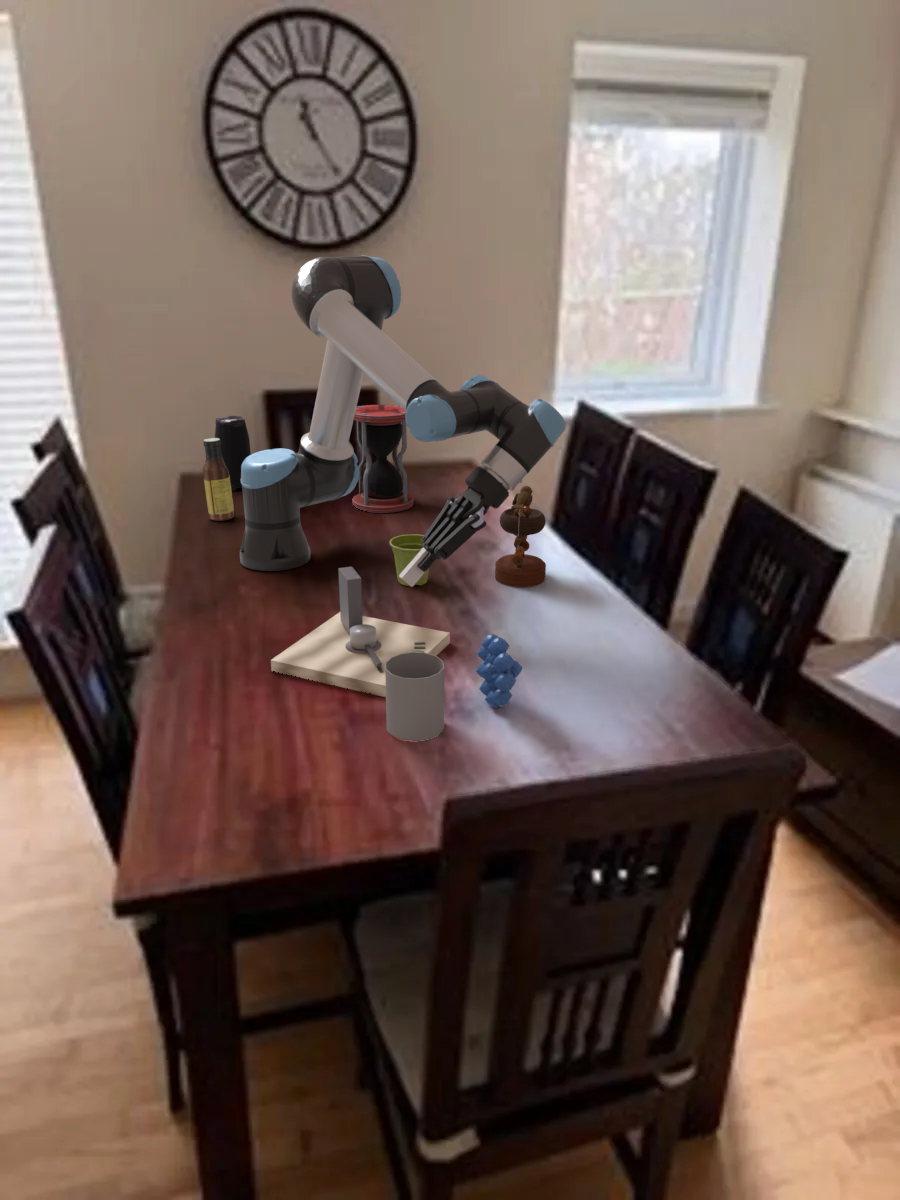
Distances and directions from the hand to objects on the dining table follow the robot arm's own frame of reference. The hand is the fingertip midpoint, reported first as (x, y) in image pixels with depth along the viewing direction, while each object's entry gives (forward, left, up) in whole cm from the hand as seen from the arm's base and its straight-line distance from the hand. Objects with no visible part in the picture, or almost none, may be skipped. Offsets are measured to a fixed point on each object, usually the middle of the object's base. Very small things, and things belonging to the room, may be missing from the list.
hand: (405, 581), depth 153 cm
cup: (+15, -28, -11) cm, 33 cm away
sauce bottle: (-74, +43, -10) cm, 86 cm away
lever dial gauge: (-3, -10, -8) cm, 13 cm away
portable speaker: (-88, +68, -10) cm, 111 cm away
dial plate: (-3, -11, -10) cm, 15 cm away
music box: (+8, +36, -11) cm, 39 cm away
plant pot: (-11, +24, -11) cm, 28 cm away
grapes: (+24, -17, -10) cm, 31 cm away
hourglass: (-43, +71, -11) cm, 84 cm away
